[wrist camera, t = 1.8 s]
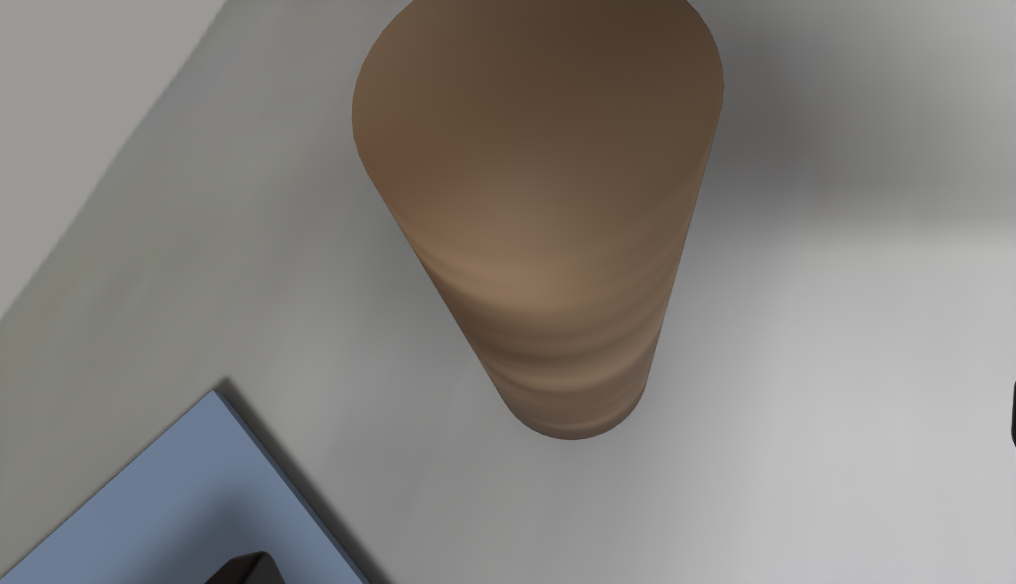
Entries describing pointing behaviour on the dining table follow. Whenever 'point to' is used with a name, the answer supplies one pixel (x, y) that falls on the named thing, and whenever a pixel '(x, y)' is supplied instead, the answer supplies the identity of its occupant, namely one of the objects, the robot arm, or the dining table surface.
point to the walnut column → (546, 182)
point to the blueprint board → (191, 515)
